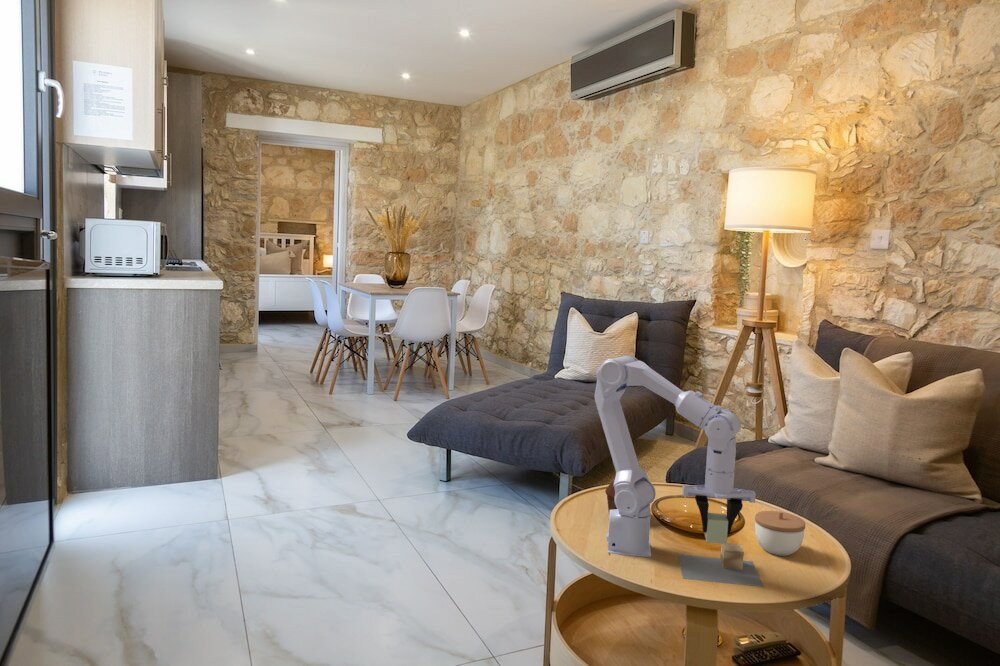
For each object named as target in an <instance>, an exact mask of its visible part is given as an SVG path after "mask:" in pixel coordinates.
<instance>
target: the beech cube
mask: <svg viewBox="0 0 1000 666" xmlns="http://www.w3.org/2000/svg"><path fill="white" fill-rule="evenodd" d="M720 545H721V547H720V557H719V558H720V561H721V563H722V566H723V568H727V569H737V570H743V561H744V555H745V554H744V553H745V551H744V549H743V546H742V545H741V544H739V543H727V544H720Z"/></svg>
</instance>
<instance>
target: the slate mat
mask: <svg viewBox="0 0 1000 666" xmlns="http://www.w3.org/2000/svg"><path fill="white" fill-rule="evenodd" d="M677 556H678V560H679V561H678V562H679V566H680V571H681V575H682V579H684V580H693V581H701V582H702V581H703V582H712V583H713V582H715V583H723V584H731V585H732V584H733V585H742V586H750V587H751V586H752V587H759V588H760V587H762V588H765V585H764V583H763V580H762V579H761V577H760V575H759V572H758V569H757V568H756V565H755V564H754V561H752V560H751V561H750V560H743V570H737V569H727V568H723V566H722V563H721V561H720V558H721V557H710V556H703V555H702V556H701V555H689V554H679V553H677Z"/></svg>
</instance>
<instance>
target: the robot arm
mask: <svg viewBox="0 0 1000 666" xmlns="http://www.w3.org/2000/svg"><path fill="white" fill-rule="evenodd" d="M595 376H596V385H595V391H594V401H595V405H596V408H597V412H598V415H599V419H600V423H601V424H602V425H601V426H602V429H603V432H604V436H605V438H606V439H605V440H606V443H607V446H608V449H609V453H610V456H611V459H612V463H613V466H614V470H615V478H614V480H615V481H614V480H613V481H614V488H615V498H614V501H615V505H616V507H617V509H614V510H610V512H609V511H608V517H609V518H608V532H607V533H606V542H607V554H614V555H615V554H616V555H623V556H624V555H625V556H634V557H646V558H651V557H652V552H651V551H652V550H651V543H650V530H651V515H652V512H651V511H652V510H651V504H652V503H653V502H654V501H655V499H656V494H657V492H656V488H655V486H654V484H653V483H652V482H651V480H650V479H649V477H648V475H647V472H646V471H645V470H644V469H643V468H642V467H641V466H640V464H639V461H638V457H637V454H636V450H635V447H634V444H633V441H632V437H631V434H630V430H629V427H628V423H627V420H626V417H625V414H624V410H623V407H622V404H621V398H622V396H623V395H624V393H625V391H626V390H627V388H629V387H636V386H637V387H638V386H639V387H644V388H647V389H648V390H650V391H651V392H653V393H655V394H657V395H658V396H660V397H662V398H663V399H665V400H667V401H668V402H670V403H672V404H673V405H674V406H675V410H676V412H677V414H679V415H680V416H682V417H683V418H684V419H686V420H687V421H689V422H690V423H692V424H694V425H695V426H696V427H698V428H700V429H701V430H704V434H705V435H706V437H707V445H706V446H707V447H706V448H707V449H706V463H705V477H704V478H705V479H704V484H697V485H696V484H695V485H694V484H693V485H687V484H682V492H681V493H682V497H684V498H688V497H694V498H695V502H696V505H697V508H698V509H699V513H700V517H701V518H700V519H701V524H702V525H701V526H702V527H701V528H702V531H703V533H705V532H707V516H708V513H709V499H718V500H726V517H727V519H728V532H727V536H728V535H731V531H732V528H733V525H734V523H735V520H736V518H737V516H738V515H739V513H740V512H741V511H742V509H743V506H744V505H743V502H749V503H751V504H752V503H753V504H755V503H756V495H757V494H756V492H755V491H754V490H748V489H743V488H742V489H741V488H736V487H734V481H735V469H736V457H737V456H736V453H737V449H736V447H737V437H736V435H738V433H739V432H740V430H741V425H742V424H741V421H740V418H739V416H738V415H737V414H736V413H734V411H733V410H730V409H723V406H721V405H719V404H718V405H715V404H714V403H712V402H711V401H710V400H708V399H706V398H705V397H703V395H704V394H703V393H702V392H701V391H696V392H695V391H693V390H686V391H684V390H682V389H680V388H679V386H678V387H677V385H675V384H673V383H672V382H671V381H669V380H668V379H666V378H665V377H663V375H661V374H660V373H658V372H657V371H656V370H654V369H652V368H651V367H649V365H647V364H646V363H645V362H644V361H642V360H639V359H638V358H637V357H635V356H633V355H630V354H624V355H622V356H619V357H615V358H608V359H606V360H604V361H603V362H602V363H601V364H600V366H599V367H598V369H597V370H596V372H595ZM708 498H709V499H708Z"/></svg>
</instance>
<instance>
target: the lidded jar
mask: <svg viewBox="0 0 1000 666" xmlns="http://www.w3.org/2000/svg"><path fill="white" fill-rule="evenodd" d="M805 529H806V522H805V520H804V519H802V518H801V517H799V516H797V515H795V514H792V513H790V512H789V513H788V512H784V511H780V510H779V511H777V510H763V511H758V512H756V513H755V515H754V533H755V538H756V540H757V542H758V545H759V546H761V548H762V549H763V550H764V551H765V552H767V553H769V554H772V555H776V556H780V557H781V556H783V557H784V556H790V555H792V554H794V553H795V552H797V551H798V550H799V548H800V547H801V546H802V543H803V540H804V538H805Z"/></svg>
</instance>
